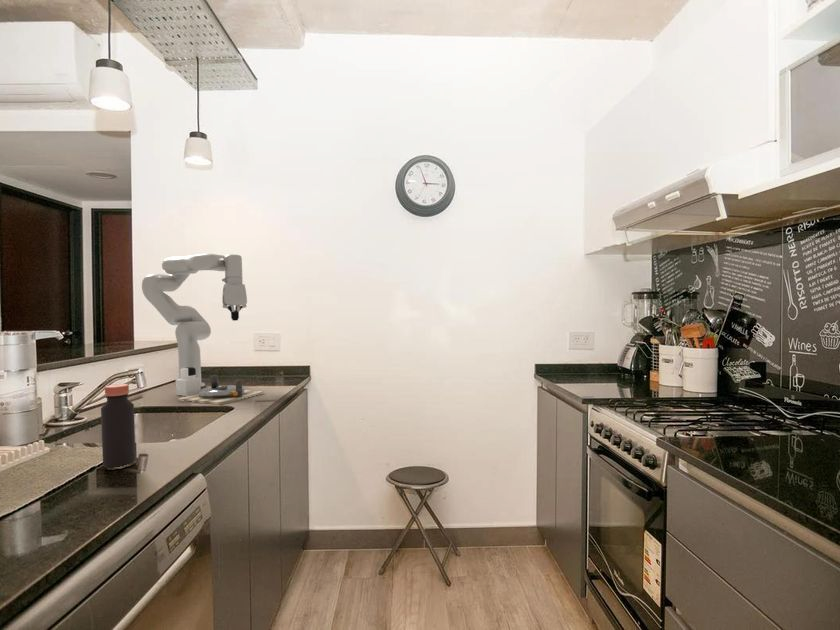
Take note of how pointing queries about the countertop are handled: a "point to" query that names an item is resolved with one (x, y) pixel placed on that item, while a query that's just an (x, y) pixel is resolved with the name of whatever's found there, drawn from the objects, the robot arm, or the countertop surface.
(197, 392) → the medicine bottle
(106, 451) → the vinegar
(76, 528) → the countertop surface
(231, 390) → the flange plate
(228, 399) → the base board
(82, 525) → the countertop surface
